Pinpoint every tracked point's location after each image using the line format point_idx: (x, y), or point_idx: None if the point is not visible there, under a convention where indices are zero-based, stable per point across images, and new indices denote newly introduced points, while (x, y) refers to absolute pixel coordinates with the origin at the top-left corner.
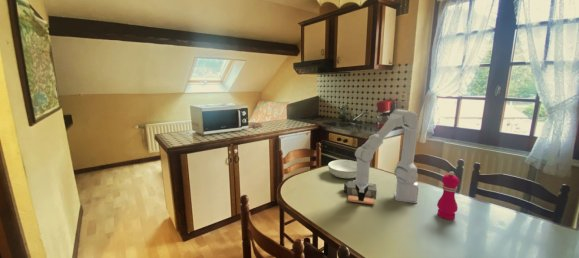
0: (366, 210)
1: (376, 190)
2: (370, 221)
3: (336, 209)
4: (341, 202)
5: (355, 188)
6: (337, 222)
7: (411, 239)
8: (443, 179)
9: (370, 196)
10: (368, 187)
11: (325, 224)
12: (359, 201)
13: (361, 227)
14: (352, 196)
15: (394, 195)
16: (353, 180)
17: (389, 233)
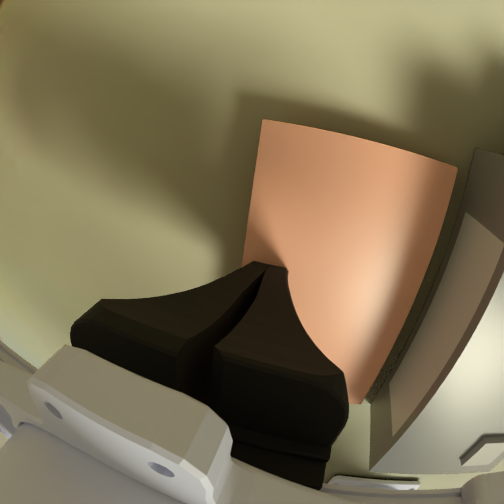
0: (162, 285)
1: (372, 471)
2: (55, 268)
3: (127, 22)
4: (278, 50)
5: (487, 297)
6: (12, 76)
7: (37, 365)
8: None
9: (391, 388)
10: (456, 433)
11: (3, 26)
12: (243, 264)
13: (7, 206)
14: (397, 206)
15: (395, 481)
16: (163, 458)
17: (25, 315)
